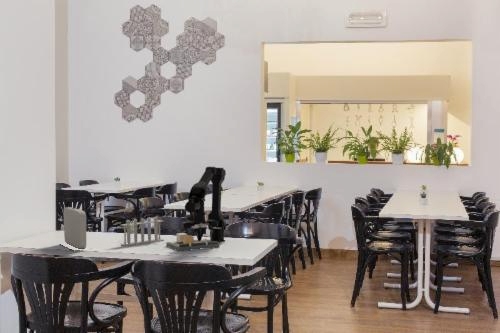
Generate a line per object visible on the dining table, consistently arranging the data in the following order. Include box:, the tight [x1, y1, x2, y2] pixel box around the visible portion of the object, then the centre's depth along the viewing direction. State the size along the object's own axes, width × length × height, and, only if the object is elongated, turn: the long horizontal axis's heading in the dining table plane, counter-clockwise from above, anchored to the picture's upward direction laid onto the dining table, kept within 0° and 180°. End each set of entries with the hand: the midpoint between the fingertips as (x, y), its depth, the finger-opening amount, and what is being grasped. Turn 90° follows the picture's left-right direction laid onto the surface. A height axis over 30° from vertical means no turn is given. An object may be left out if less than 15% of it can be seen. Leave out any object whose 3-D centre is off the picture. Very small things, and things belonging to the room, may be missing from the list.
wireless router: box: [63, 206, 93, 252], centre depth 376 cm, size 31×10×20 cm, turn 31°
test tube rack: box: [120, 216, 165, 247], centre depth 387 cm, size 25×4×13 cm, turn 133°
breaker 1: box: [176, 232, 188, 242], centre depth 376 cm, size 4×4×4 cm
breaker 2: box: [183, 234, 195, 244], centre depth 367 cm, size 4×4×4 cm
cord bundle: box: [179, 241, 219, 247], centre depth 366 cm, size 21×2×2 cm, turn 117°
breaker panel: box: [165, 238, 220, 252], centre depth 373 cm, size 22×18×2 cm
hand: (199, 240), depth 370 cm, fingers closed
